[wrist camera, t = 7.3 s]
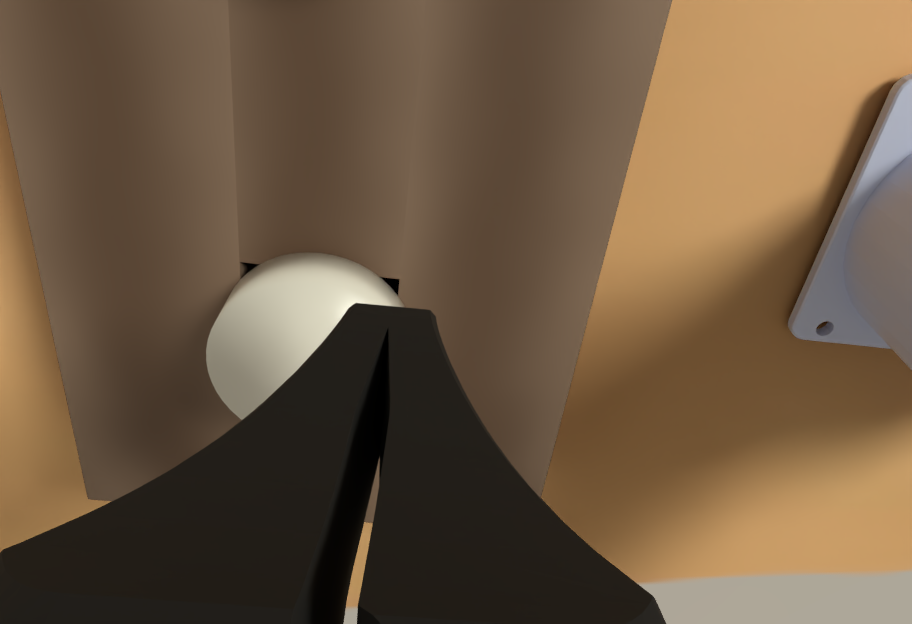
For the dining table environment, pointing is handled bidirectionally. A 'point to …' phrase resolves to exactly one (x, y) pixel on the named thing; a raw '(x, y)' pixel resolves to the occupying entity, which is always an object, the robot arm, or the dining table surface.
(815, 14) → the dining table surface
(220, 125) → the console
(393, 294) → the button
